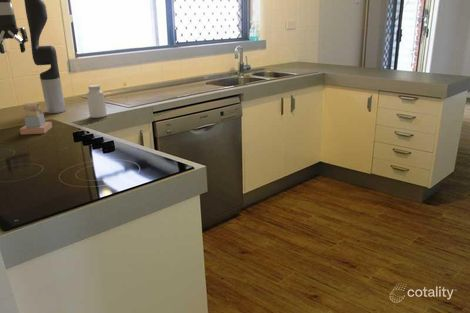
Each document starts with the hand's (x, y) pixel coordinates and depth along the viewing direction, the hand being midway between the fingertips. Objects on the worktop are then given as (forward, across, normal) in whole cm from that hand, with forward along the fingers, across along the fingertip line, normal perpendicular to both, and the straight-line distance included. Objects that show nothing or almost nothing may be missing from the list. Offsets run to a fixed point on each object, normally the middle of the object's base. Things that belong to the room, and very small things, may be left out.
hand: (12, 52), depth 183 cm
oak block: (+26, -8, +11) cm, 29 cm away
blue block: (+30, -8, +11) cm, 33 cm away
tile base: (+33, -8, +11) cm, 35 cm away
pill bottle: (+33, -30, -10) cm, 46 cm away
